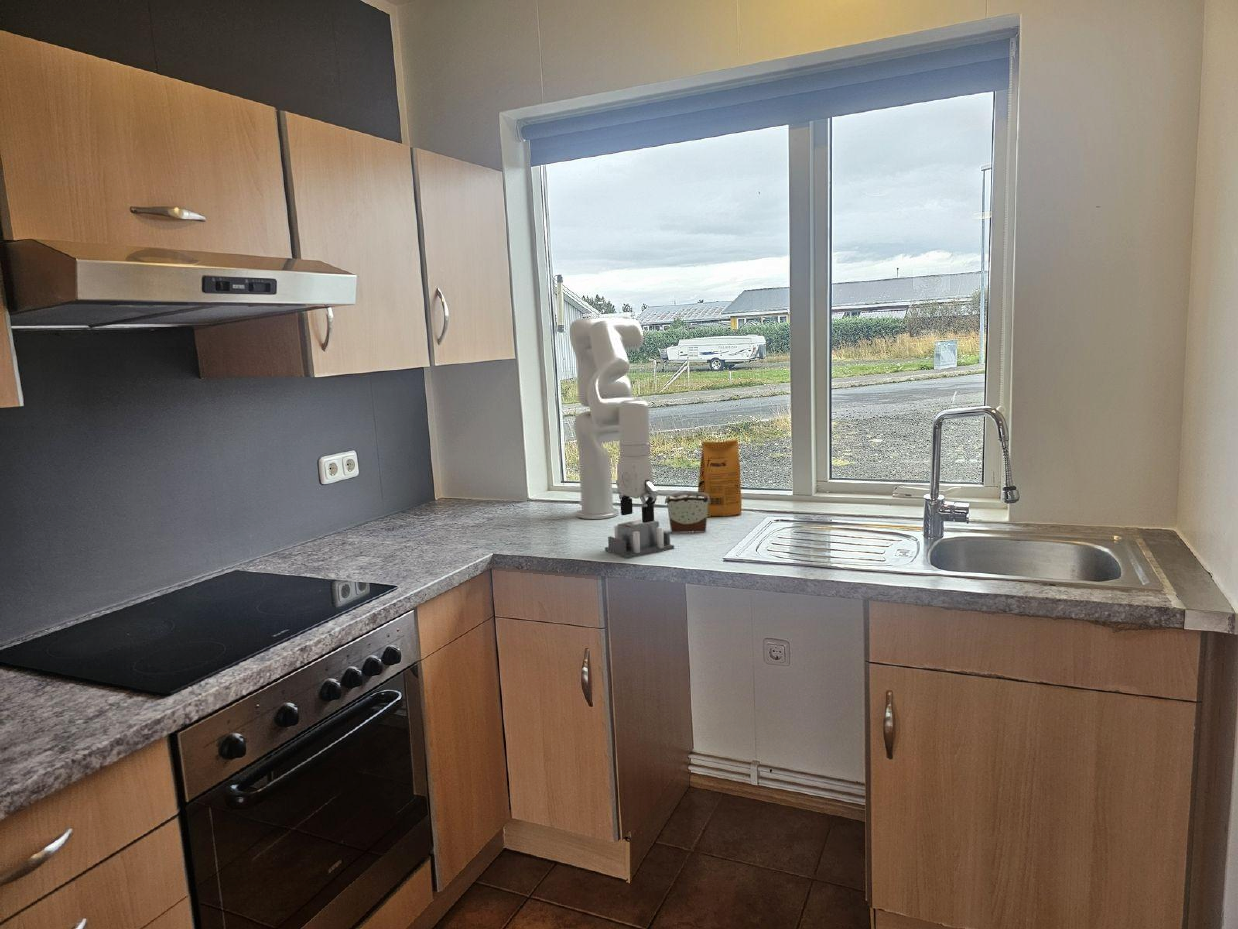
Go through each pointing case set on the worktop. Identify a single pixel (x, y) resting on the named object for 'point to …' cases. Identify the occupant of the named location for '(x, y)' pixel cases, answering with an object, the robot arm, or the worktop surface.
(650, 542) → the block
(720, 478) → the coffee package
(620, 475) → the robot arm
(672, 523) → the food container
